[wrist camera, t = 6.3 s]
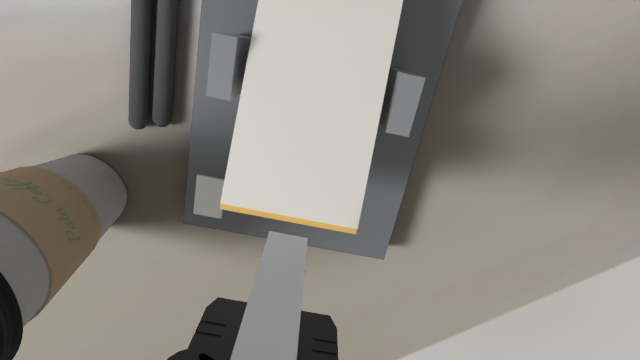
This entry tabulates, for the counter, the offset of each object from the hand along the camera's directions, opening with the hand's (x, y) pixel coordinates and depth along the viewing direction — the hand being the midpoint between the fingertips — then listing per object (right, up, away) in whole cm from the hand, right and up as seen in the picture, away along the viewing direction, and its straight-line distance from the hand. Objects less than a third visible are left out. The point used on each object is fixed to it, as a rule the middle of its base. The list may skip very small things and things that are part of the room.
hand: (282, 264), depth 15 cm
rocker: (+1, +8, +6) cm, 11 cm away
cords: (-8, +15, +9) cm, 19 cm away
